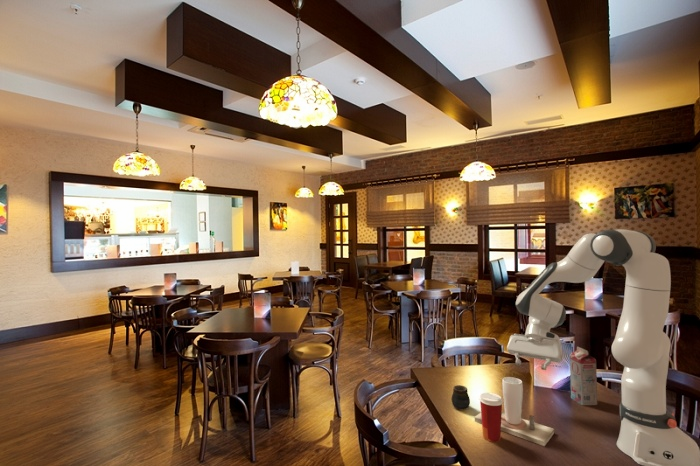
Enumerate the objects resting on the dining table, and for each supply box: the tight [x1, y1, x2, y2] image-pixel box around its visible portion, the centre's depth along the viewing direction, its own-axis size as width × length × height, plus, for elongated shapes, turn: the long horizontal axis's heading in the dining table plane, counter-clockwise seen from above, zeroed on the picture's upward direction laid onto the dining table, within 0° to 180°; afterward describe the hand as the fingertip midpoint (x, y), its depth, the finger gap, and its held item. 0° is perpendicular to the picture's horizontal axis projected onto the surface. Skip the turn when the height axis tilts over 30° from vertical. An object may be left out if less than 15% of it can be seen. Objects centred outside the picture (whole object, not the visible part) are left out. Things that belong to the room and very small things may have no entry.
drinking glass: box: [501, 376, 524, 425], centre depth 130 cm, size 7×7×15 cm
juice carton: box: [569, 346, 598, 406], centre depth 150 cm, size 7×7×22 cm
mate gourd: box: [451, 384, 471, 411], centre depth 145 cm, size 7×8×10 cm
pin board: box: [474, 411, 555, 447], centre depth 130 cm, size 24×11×6 cm, turn 46°
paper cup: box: [478, 392, 504, 443], centre depth 123 cm, size 8×8×14 cm
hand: (530, 366), depth 141 cm, fingers open, 8 cm apart
